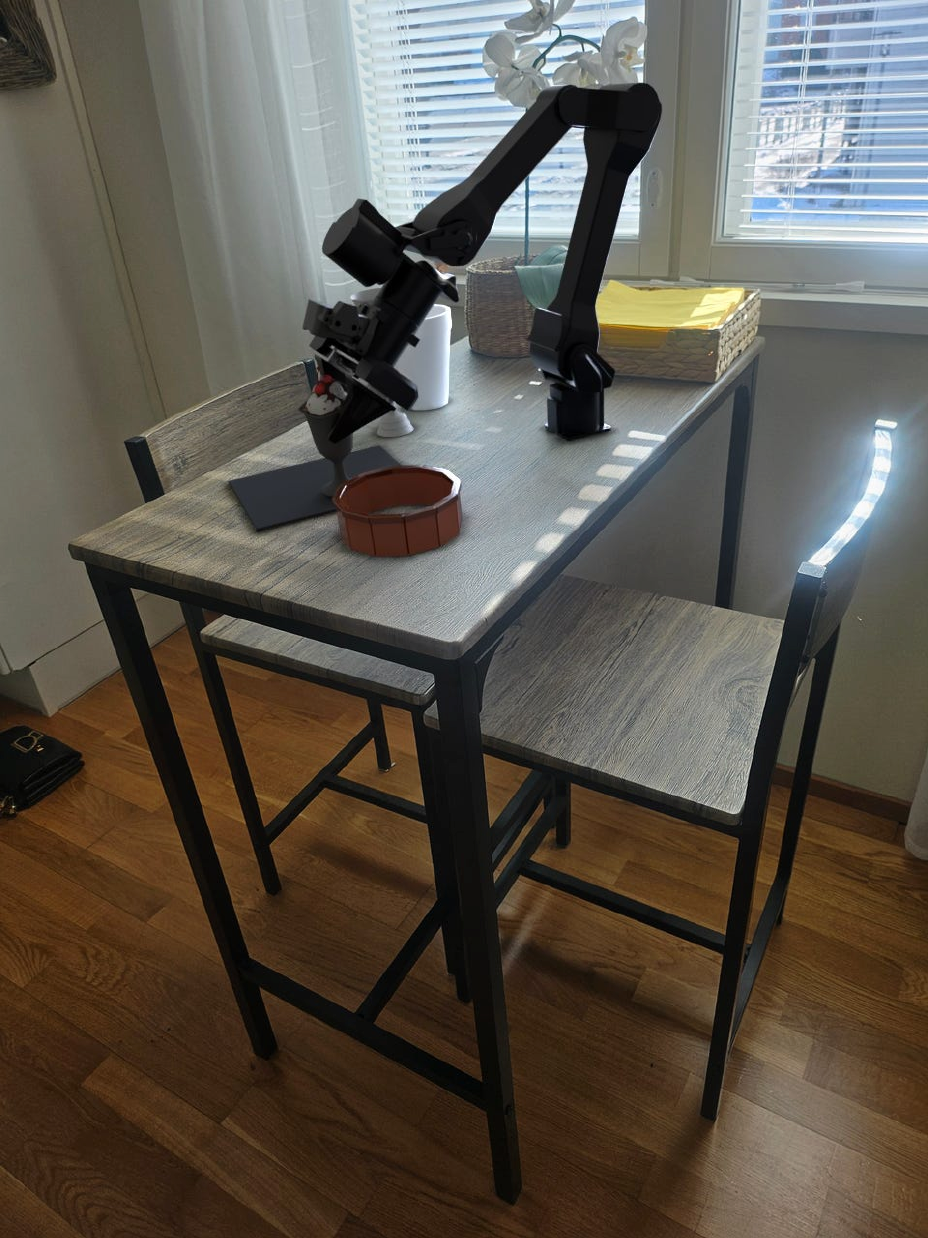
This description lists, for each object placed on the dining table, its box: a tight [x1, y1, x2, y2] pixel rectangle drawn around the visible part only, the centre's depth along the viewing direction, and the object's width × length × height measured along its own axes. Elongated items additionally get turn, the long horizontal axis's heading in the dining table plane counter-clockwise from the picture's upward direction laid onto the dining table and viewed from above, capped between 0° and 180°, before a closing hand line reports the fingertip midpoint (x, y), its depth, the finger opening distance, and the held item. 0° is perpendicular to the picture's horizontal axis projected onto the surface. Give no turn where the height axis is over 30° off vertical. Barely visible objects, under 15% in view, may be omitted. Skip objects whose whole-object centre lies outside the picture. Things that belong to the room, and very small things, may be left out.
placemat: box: [228, 444, 402, 533], centre depth 106 cm, size 20×16×1 cm
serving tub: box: [333, 464, 464, 558], centre depth 93 cm, size 13×13×4 cm
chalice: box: [349, 287, 414, 438], centre depth 116 cm, size 7×7×18 cm
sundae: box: [297, 365, 354, 497], centre depth 99 cm, size 7×7×15 cm
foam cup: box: [394, 303, 453, 411], centre depth 126 cm, size 10×9×13 cm
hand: (320, 433), depth 98 cm, fingers closed on sundae, 6 cm apart
